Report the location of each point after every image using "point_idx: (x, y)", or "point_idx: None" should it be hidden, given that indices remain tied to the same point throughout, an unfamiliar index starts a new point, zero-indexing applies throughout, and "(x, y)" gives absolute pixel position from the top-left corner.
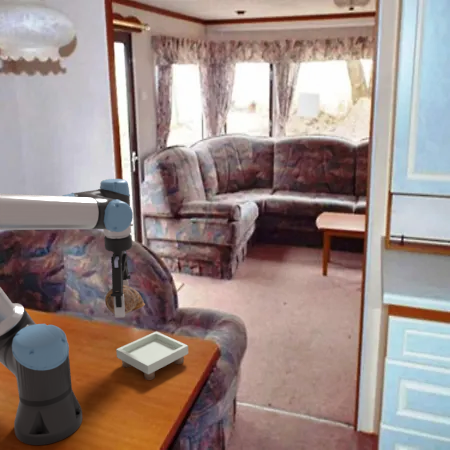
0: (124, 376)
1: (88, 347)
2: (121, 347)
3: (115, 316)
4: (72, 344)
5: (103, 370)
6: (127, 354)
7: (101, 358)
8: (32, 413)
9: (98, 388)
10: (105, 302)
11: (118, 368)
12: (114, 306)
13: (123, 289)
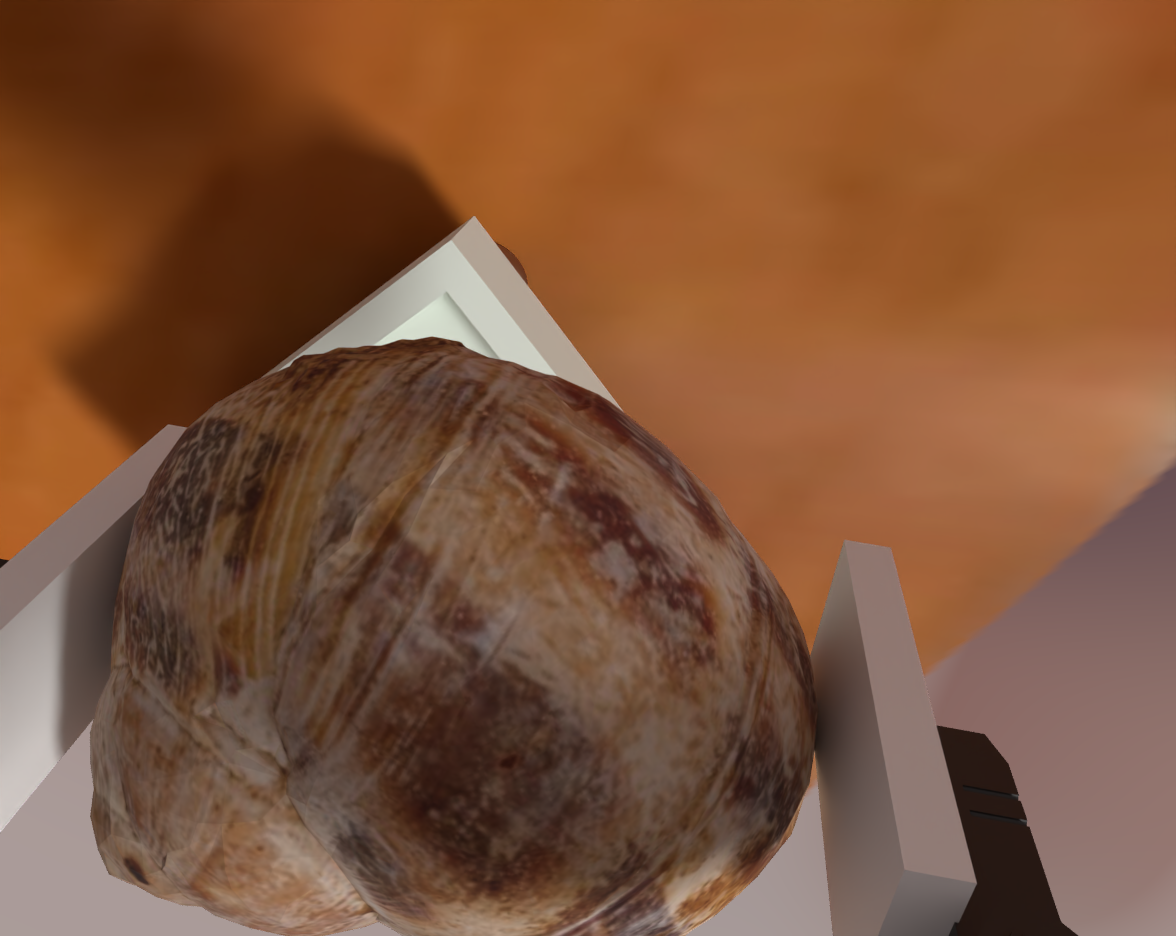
0: (298, 250)
1: None
2: (483, 295)
3: (161, 439)
4: None
5: (420, 57)
6: (326, 345)
7: (666, 30)
8: None
9: (119, 15)
10: (324, 364)
11: (437, 203)
12: (47, 529)
13: (225, 889)
